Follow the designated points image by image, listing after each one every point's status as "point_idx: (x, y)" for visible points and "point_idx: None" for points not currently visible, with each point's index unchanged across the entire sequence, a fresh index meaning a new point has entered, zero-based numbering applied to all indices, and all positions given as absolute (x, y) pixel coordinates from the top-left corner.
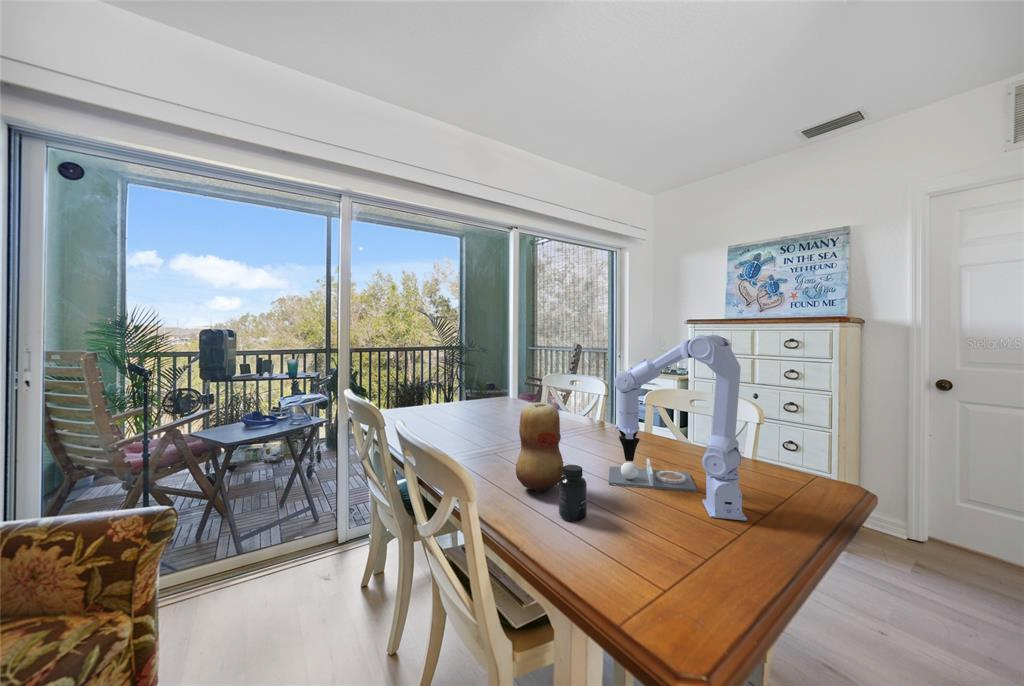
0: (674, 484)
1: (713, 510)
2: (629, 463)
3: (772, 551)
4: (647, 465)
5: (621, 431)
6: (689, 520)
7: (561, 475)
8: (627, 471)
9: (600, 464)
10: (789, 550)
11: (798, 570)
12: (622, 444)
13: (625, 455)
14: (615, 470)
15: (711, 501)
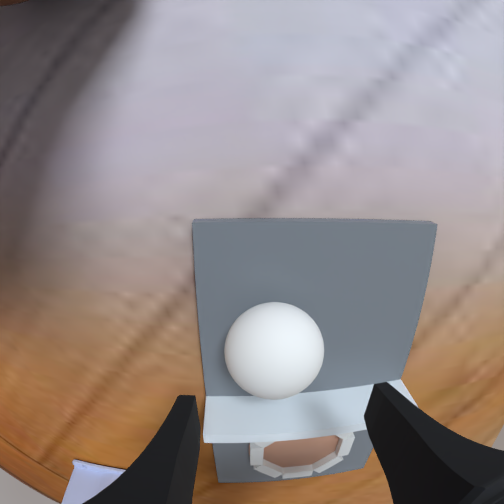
0: (243, 451)
1: (79, 474)
2: (265, 384)
3: (23, 470)
4: (364, 410)
5: (464, 497)
6: (36, 422)
7: (5, 1)
8: (227, 349)
9: (476, 177)
10: (40, 485)
11: (2, 467)
12: (103, 491)
13: (165, 424)
14: (386, 255)
15: (92, 487)
